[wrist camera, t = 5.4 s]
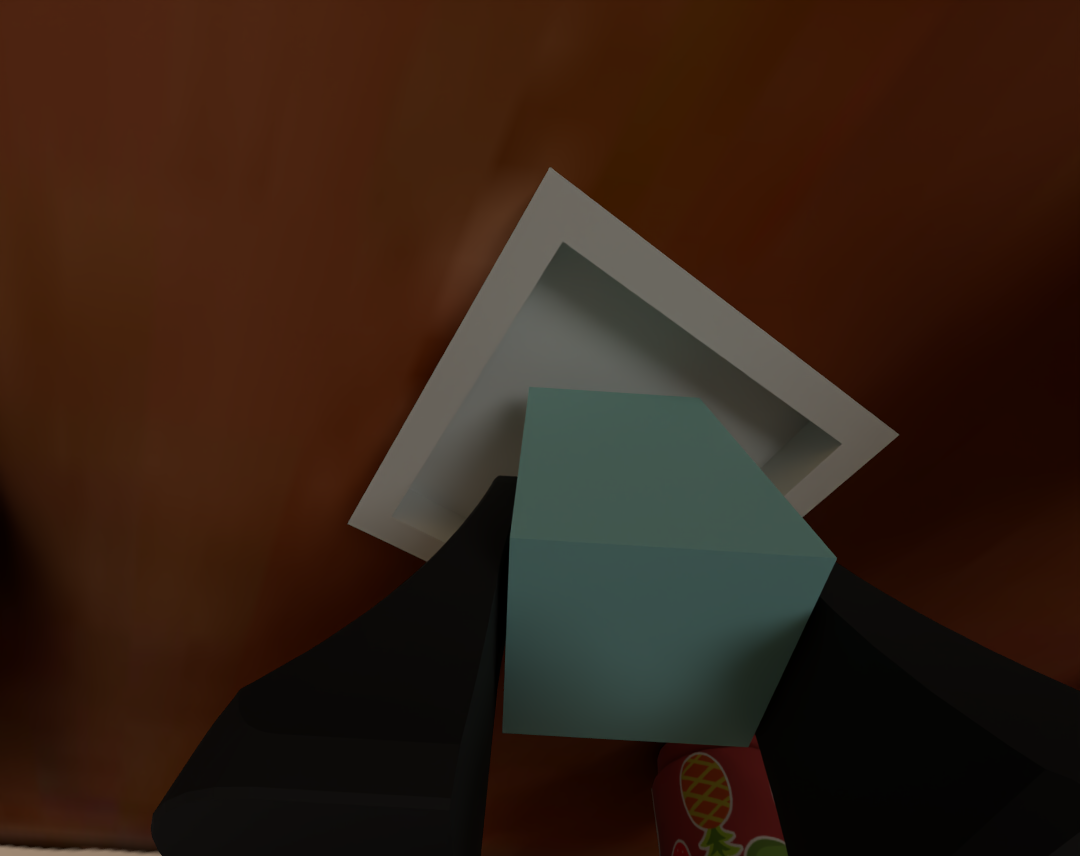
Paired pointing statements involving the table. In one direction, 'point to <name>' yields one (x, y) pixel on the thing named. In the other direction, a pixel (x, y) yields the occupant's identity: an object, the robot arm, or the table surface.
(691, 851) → the smoothie
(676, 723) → the block
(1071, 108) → the table surface
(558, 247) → the tray
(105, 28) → the table surface
